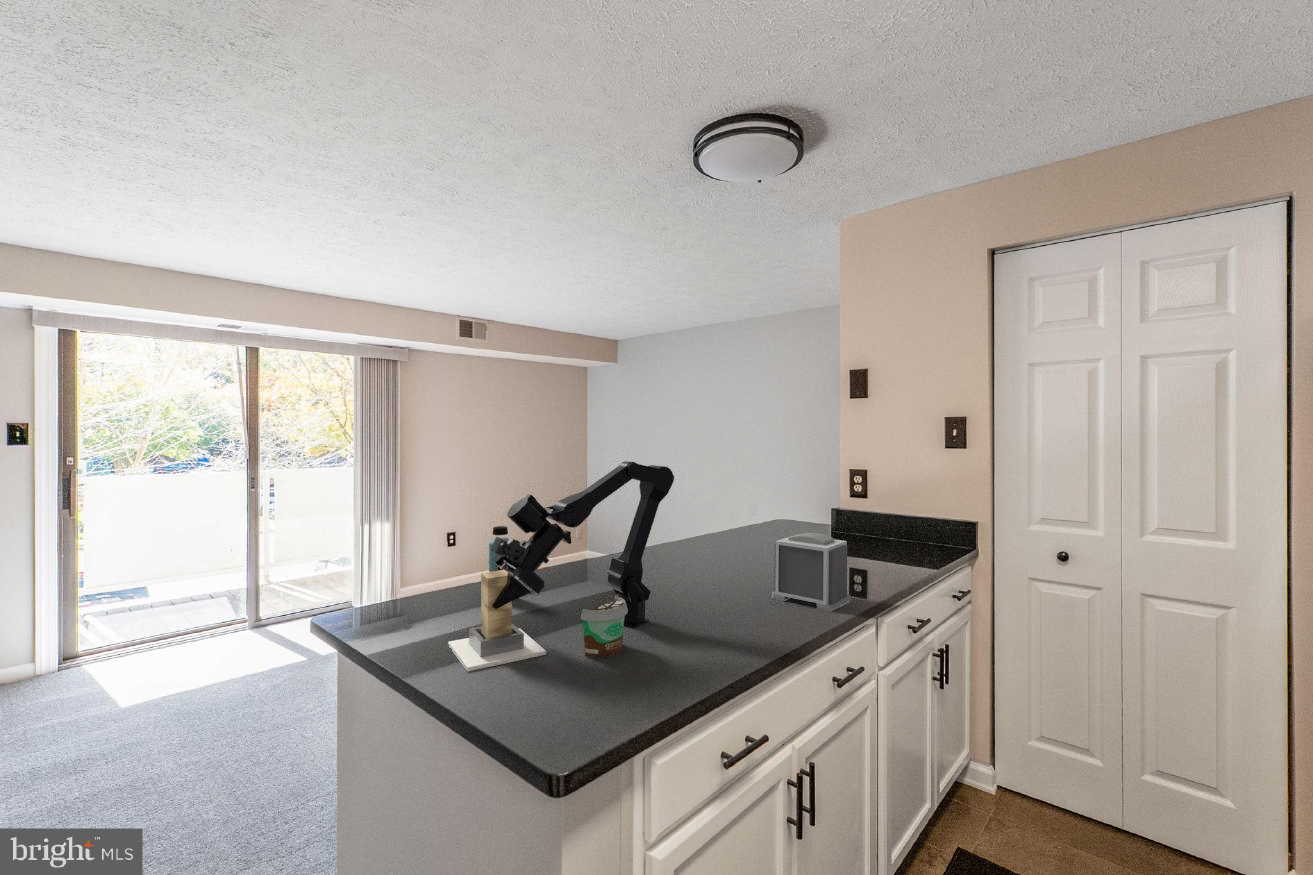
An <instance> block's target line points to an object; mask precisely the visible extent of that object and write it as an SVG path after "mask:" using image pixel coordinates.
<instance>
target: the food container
mask: <svg viewBox="0 0 1313 875" xmlns="http://www.w3.org/2000/svg"><path fill="white" fill-rule="evenodd" d="M627 613H628V609H627V605H626V603H625V600H624V599H623V598H620V597H618V595H614V600H611V601H609V602H607V603H600V604H599V605H597V606H595V607H594V608H592V609H585V608H582V612H581V614H580V620H581V621H582V626H583V627H582V630H583V642H584V643H583V644H584V656H585V657H588V658H607V657H612V656H615V655H617V654H619V653H620V652H621V651H622V648H623V640H624V638H623V637H624V628H625V626H624V616H625V615H626V614H627Z"/></svg>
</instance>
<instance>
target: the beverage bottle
mask: <svg viewBox="0 0 1313 875" xmlns="http://www.w3.org/2000/svg"><path fill="white" fill-rule="evenodd" d="M508 534H509V531H508V526H506V525H501V526H494V527H493V528H492V535H493V536H506V535H508ZM501 538H502V539H505V540H508V541H509V540H510V538H508V537H501ZM495 539H496V537H494V538H492V539H491V540H490V541H489V542H488V572H492V571H496V570H495V565H497V564H496V563H495V562H493V561H492V559H493V558H494V557H495V556H496V555H497V554H496V553H494V551H491V548H492V545H493V543H494V541H495ZM497 566H498V565H497Z"/></svg>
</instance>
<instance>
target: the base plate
mask: <svg viewBox="0 0 1313 875" xmlns="http://www.w3.org/2000/svg"><path fill="white" fill-rule="evenodd" d="M518 629H519V630H520V631H521V632H523V633H524V649H520V650H515V651H510V652H505V653H501V654H496V655H491V656H486V657H481V658H480V656H479V655H478V654H477V653H476V652H475V650H474V649H473V648H472V647H471V646H470V644H469V637H466V638H461V639H456V640H455V639H454V640H449V641H447V646H448V645H449V646H448V647H449V649H450V648H451V649H452V650H451V649H450V650H451V651H452V653H453V654H454V655H455V657H456V658H457V660H458V661H459V662H460V663H461V665H462V667H463V668H464V669H465V671H466V672H467V673H468V672H472V671H478V670H482V669H486V668H489V667H490V668H491V667H495V666H499V665H504V664H508V663H513V662H518V661H523V660H527V659H531V658H535V657H540V656H546V654H547V652H546V649H544V648H543V647H542V646H541V645H540V644H538V643H537V642H536V641H535V640H534V639H532V637H530V636H529V635H528V634H527V633H526V632H525V631H523V630H522V628H519V627H518Z"/></svg>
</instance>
